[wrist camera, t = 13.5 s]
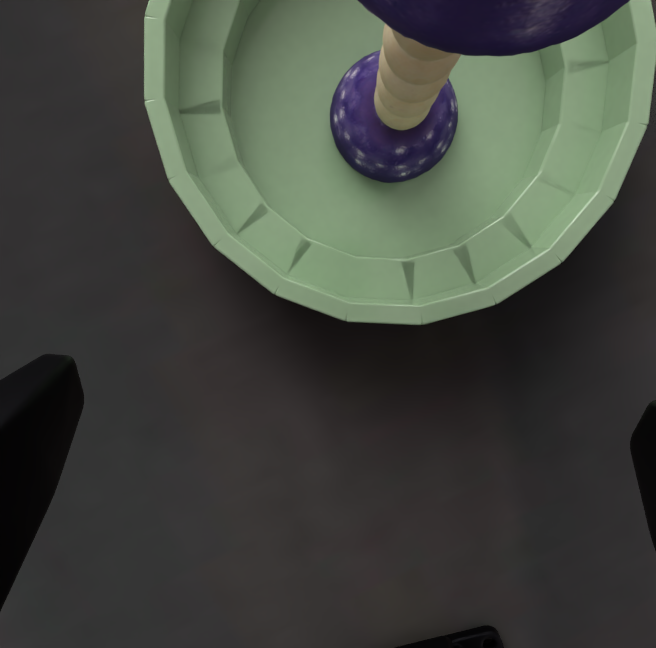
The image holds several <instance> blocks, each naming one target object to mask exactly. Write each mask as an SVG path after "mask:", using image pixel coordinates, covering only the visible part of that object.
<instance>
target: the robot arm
mask: <svg viewBox="0 0 656 648" xmlns="http://www.w3.org/2000/svg"><path fill="white" fill-rule="evenodd" d="M83 405H84V393H83V389H82V385H81V382H80V378H79V374H78V370H77V367H76V363H75V361H74V359H73V358H72V357H70V356H67V355H55V354H45V355H42V356H40V357H38V358H37V359H35V360H33V361H32V362H30V363H28V364H27V365H25V366H23V367H22V368H20V369H18V370H17V371H15V372H13V373H12V374H10V375H8V376H7V377H5V378H3V379H2V380H0V611H1V609H2V607H3V604H4V602H5V600H6V598H7V596H8V594H9V591H10V589H11V587H12V585H13V583H14V581H15V579H16V576H17V574H18V572H19V570H20V568H21V566H22V563H23V561H24V559H25V557H26V555H27V553H28V551H29V548H30V546H31V544H32V542H33V540H34V538H35V535H36V533H37V531H38V529H39V527H40V525H41V522H42V520H43V518H44V516H45V514H46V512H47V510H48V507H49V505H50V503H51V500H52V498H53V496H54V493H55V490H56V488H57V485H58V482H59V479H60V476H61V473H62V470H63V467H64V464H65V461H66V458H67V455H68V452H69V449H70V446H71V443H72V440H73V437H74V434H75V431H76V428H77V425H78V422H79V419H80V416H81V413H82V410H83ZM630 450H631V455H632V459H633V463H634V468H635V472H636V476H637V480H638V485H639V489H640V493H641V498H642V502H643V506H644V510H645V515H646V519H647V523H648V527H649V531H650V535H651V538H652V542H653V545H654V548H655V551H656V400H655V401H652V402H651V403H650V404H649V405H648V406H647V408H646V410H645V412H644V414H643V415H642V417H641V419H640V421H639V423H638V425H637V427H636V428H635V430H634V432H633V434H632V437H631V441H630ZM488 638H491V639H492V641H491V642H489V643H483V642H484V640H486V639H488ZM396 648H504V647H503V643H502V640H501V638H500V635H499V633H498V631H497V630H496V629H495V628H494V627H491V626H481V627H477V628H473V629H469V630H465V631H461V632H457V633H453V634H449V635H445V636H440V637H436V638H432V639H428V640H424V641H420V642H416V643H412V644H408V645H404V646H400V647H396Z"/></svg>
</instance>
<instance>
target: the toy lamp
mask: <svg viewBox="0 0 656 648" xmlns="http://www.w3.org/2000/svg"><path fill="white" fill-rule="evenodd" d="M357 1H359V2H360V3H361V4H362V5H363V6H364V7H365V8H366V9H367V10H368V11H369V12H370V13H371V14H373V15H375V16H376V17H378V18H379V19H381V20H382V21H383V22H384V23H385V26H384V30H383V45H382V48H381V50H379V51H376V52H373V53H371V54H369V55H367V56H364V57H363V58H362V59H360V60H359V61H357V62H356V63H355V64H354V65H353V66H352V67H351V68H350V69H349V70H348V71H347V72H346V73H345V74H344V76H343V77H342V79H341V80H340V82H339V84H338V86H337V88H336V90H335V92H334V95H333V98H332V103H331V107H330V128H331V131H332V135H333V138H334V141H335V144H336V147H337V149H338V150H339V152H340V154H341V155H342V156H343V158H344V159H345V161H346V162H347V163H348V164H349V165H350V166H351V167H352V168H353V169H354V170H356V171H357V172H359V173H360V174H362V175H364V176H366V177H368V178H370V179H373V180H377V181H380V182H384V183H395V182H403V181H406V180H410V179H413V178H416V177H418V176H420V175H421V174H423V173H425V172H427V171H429V170H430V169H432V168H433V167H434V166H435V165H436V164H437V163H438V162H439V161H440V160H441V159H442V158H443V156H444V155H445V154H446V152H447V150H448V149H449V147H450V146H451V143H452V141H453V138H454V135H455V132H456V128H457V122H458V104H457V99H456V95H455V92H454V89H453V87H452V84H451V82H450V80H449V78H448V77H449V75H450V73H451V70H452V69H453V67H454V66H455V64H456V63H457V61H458V60H459V58H460V56H461V55H465V56H498V57H500V56H514V55H518V54H522V53H531V52H535V51H538V50H541V49H544V48H546V47H549V46H552V45H557V44H560V43H562V42H565V41H568V40H570V39H573V38H575V37H577V36H579V35H581V34H582V33H584V32H586V31H588V30H589V29H591V28H593V27H594V26H596V25H598V24H599V23H601V22H602V21H604V20H606V19H607V18H608V17H610V16H611V15H612V14H613V13H614V12H616V11H617V10H618V9H619V8H621V7H622V6H623V5H625V4H626V3H628V2H629V1H630V0H357Z"/></svg>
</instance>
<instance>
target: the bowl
mask: <svg viewBox="0 0 656 648" xmlns="http://www.w3.org/2000/svg"><path fill="white" fill-rule="evenodd" d="M145 16H146V17H145V18H144V100H145V107H146V110H147V113H148V116H149V120H150V123H151V126H152V130H153V133H154V136H155V139H156V143H157V146H158V149H159V152H160V156H161V159H162V162H163V165H164V169H165V172H166V175H167V178H168V180H169V183H170V184H171V186H172V187H173V189H174V190H175V192H176V193H177V195H178V196H179V198H180V199H181V200H182V202H183V203H184V205H185V206H186V208H187V209H188V211H189V212H190V214H191V215H192V217H193V218H194V220H195V221H196V223H197V224H198V225H199V227H200V228H201V230H202V231H203V233H204V234H205V236H206V237H207V239H208V240H209V242H210V243H211V245H212V246H214V247H215V249H216V250H218V251H219V252H220V253H221V254H223V255H224V256H225V257H227V258H228V259H229V260H230V261H232V262H233V263H234V264H235V265H237V266H238V267H239V268H240V269H242V270H243V271H244V272H246V273H247V274H248V275H249V276H251V277H252V278H253V279H254V280H256V281H257V282H258V283H259V284H261V285H262V286H263V287H265V288H266V289H267V290H268V291H270V292H271V293H272V294H275V295H276V296H278V297H280V298H283V299H286V300H288V301H291V302H294V303H296V304H299V305H302V306H304V307H307V308H310V309H313V310H315V311H318V312H321V313H323V314H326V315H329V316H331V317H334V318H337V319H339V320H342V321H347V322H357V323H379V324H401V325H421V324H422V325H425V324H429V323H433V322H436V321H440V320H444V319H447V318H451V317H455V316H459V315H462V314H466V313H470V312H473V311H477V310H481V309H484V308H488V307H492V306H494V305H495V304H499V303H500V302H502V301H504V300H505V299H507V298H508V297H510V296H511V295H513V294H514V293H516V292H518V291H519V290H521V289H522V288H524V287H525V286H527V285H529V284H530V283H532V282H533V281H535V280H536V279H538V278H540V277H541V276H543V275H544V274H546V273H547V272H549V271H551V270H552V269H554V268H555V267H557V266H558V265H560V264H561V262H564V260H565V259H566V258H567V257H568V256H569V255H570V253H571V252H572V251H573V250H574V249H575V248H576V246H577V245H578V244H579V243H580V242H581V240H582V239H583V238H584V237H585V236H586V235H587V233H588V232H589V231H590V230H591V229H592V228H593V226H594V225H595V224H596V223H597V222H598V221H599V219H600V218H601V217H602V216H603V215H604V214H605V212H606V211H607V210H608V209H609V208H610V206H611V205H612V204H613V202H614V200H615V199H616V197H617V195H618V192H619V190H620V188H621V186H622V183H623V181H624V179H625V176H626V174H627V172H628V170H629V167H630V165H631V163H632V160H633V158H634V156H635V154H636V151H637V149H638V147H639V144H640V142H641V140H642V138H643V135H644V133H645V131H646V128H647V126H646V125H648V123H649V114H650V106H651V98H652V89H653V81H654V73H655V64H656V25H655V20H654V14H653V9H652V3H651V0H630V1H629V2H628V3H626V4H625V5H623V6H622V7H621V8H619V9H618V10H617V11H616V12H614V13H613V14H612V15H611V16H610V17H608V18H607V19H606V20H604V21H602V22H601V23H599V24H598V25H596V26H594V27H593V28H591V29H589V30H588V31H586V32H584V33H582V34H581V35H579V36H577V37H575V38H573V39H570V40H568V41H565V42H562V43H560V44H557V45H552V46H549V47H546V48H544V49H541V50H538V51H535V52H531V53H522V54H518V55H514V56H500V57H498V56H465V55H461V56H460V58H459V60H458V61H457V63H456V64H455V66H454V67H453V69H452V70H451V73H450V75H449V77H448V78H449V80H450V82H451V84H452V87H453V89H454V92H455V95H456V99H457V104H458V122H457V128H456V132H455V135H454V138H453V141H452V143H451V146H450V147H449V149H448V150H447V152H446V154H445V155H444V156H443V158H442V159H441V160H440V161H439V162H438V163H437V164H436V165H435V166H434V167H433V168H432V169H430V170H429V171H427V172H425V173H423V174H421V175H420V176H418V177H416V178H413V179H410V180H406V181H403V182H395V183H384V182H380V181H377V180H373V179H370V178H368V177H366V176H364V175H362V174H360V173H359V172H357V171H356V170H354V169H353V168H352V167H351V166H350V165H349V164H348V163H347V162H346V161H345V159H344V158H343V156H342V155H341V154H340V152H339V150H338V149H337V147H336V144H335V141H334V138H333V135H332V131H331V128H330V107H331V103H332V98H333V95H334V92H335V90H336V88H337V86H338V84H339V82H340V80H341V79H342V77H343V76H344V74H345V73H346V72H347V71H348V70H349V69H350V68H351V67H352V66H353V65H354V64H355V63H356V62H357V61H359V60H360V59H362V58H363V57H364V56H367V55H369V54H371V53H373V52H376V51H379V50H381V48H382V45H383V30H384V26H385V23H384V22H383V21H382V20H381V19H379V18H378V17H376V16H375V15H373V14H371V13H370V12H369V11H368V10H367V9H366V8H365V7H364V6H363V5H362V4H361V3H360V2H359V1H357V0H149V2H148V6H147V9H146V12H145Z"/></svg>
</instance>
